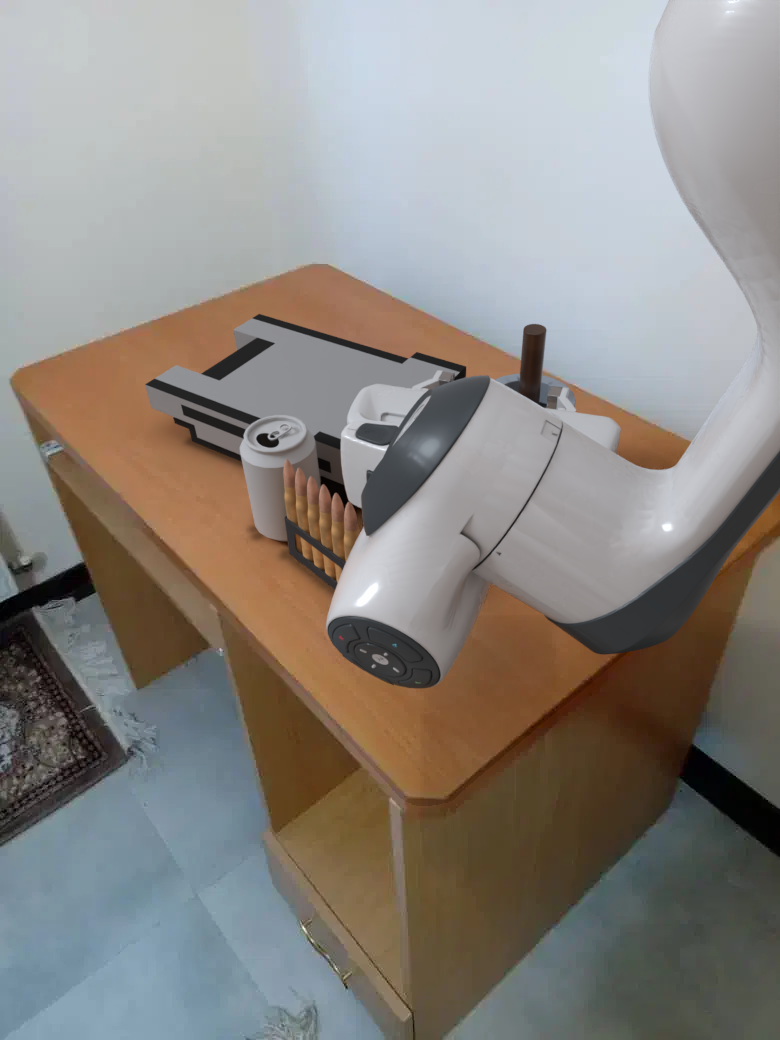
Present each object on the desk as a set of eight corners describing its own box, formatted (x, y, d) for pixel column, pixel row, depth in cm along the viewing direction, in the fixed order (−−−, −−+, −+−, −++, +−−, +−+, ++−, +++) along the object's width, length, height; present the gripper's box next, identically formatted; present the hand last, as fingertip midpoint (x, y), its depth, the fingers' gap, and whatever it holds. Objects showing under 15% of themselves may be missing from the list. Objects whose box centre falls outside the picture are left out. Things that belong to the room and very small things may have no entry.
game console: (266, 359, 111) (257, 305, 106) (464, 425, 97) (466, 366, 92) (158, 432, 99) (142, 375, 93) (368, 520, 85) (364, 458, 79)
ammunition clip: (371, 597, 76) (364, 502, 68) (357, 607, 75) (348, 512, 67) (302, 544, 82) (288, 451, 74) (288, 553, 81) (272, 459, 73)
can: (241, 521, 85) (222, 429, 77) (298, 491, 89) (285, 400, 81) (280, 557, 81) (264, 463, 73) (339, 524, 84) (328, 431, 76)
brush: (538, 469, 89) (554, 323, 77) (533, 486, 87) (548, 338, 75) (510, 465, 90) (521, 319, 78) (504, 482, 87) (515, 334, 76)
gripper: (615, 477, 50) (638, 368, 60) (319, 428, 56) (384, 336, 66) (602, 549, 54) (626, 437, 64) (328, 497, 60) (388, 401, 70)
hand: (502, 386), depth 65 cm, fingers open, 8 cm apart
